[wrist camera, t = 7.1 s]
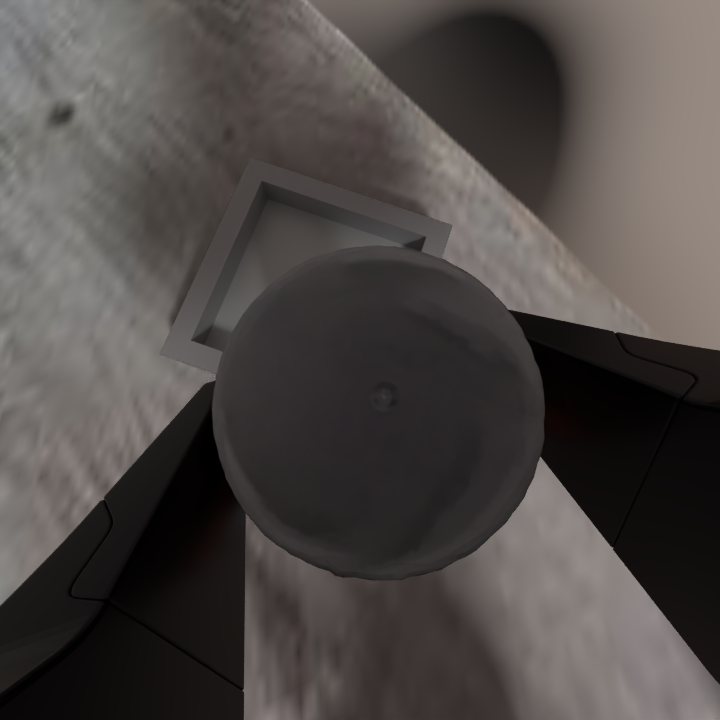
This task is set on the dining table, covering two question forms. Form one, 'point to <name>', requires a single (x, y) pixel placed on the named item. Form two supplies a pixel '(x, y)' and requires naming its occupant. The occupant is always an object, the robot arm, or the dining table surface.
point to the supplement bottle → (378, 412)
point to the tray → (281, 249)
